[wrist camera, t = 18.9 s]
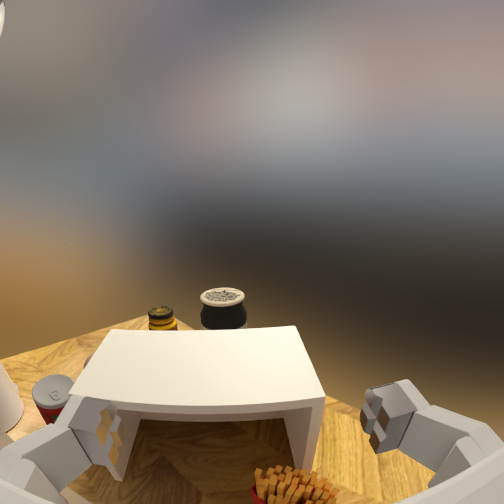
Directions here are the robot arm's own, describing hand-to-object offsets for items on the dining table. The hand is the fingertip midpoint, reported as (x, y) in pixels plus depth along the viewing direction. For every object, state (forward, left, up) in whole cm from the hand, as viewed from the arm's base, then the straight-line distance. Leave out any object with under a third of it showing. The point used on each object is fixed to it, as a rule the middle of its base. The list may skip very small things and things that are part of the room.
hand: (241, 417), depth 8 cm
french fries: (+4, +8, -30) cm, 31 cm away
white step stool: (-5, +21, -30) cm, 37 cm away
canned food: (-27, +21, -30) cm, 46 cm away
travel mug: (-2, +40, -30) cm, 50 cm away
